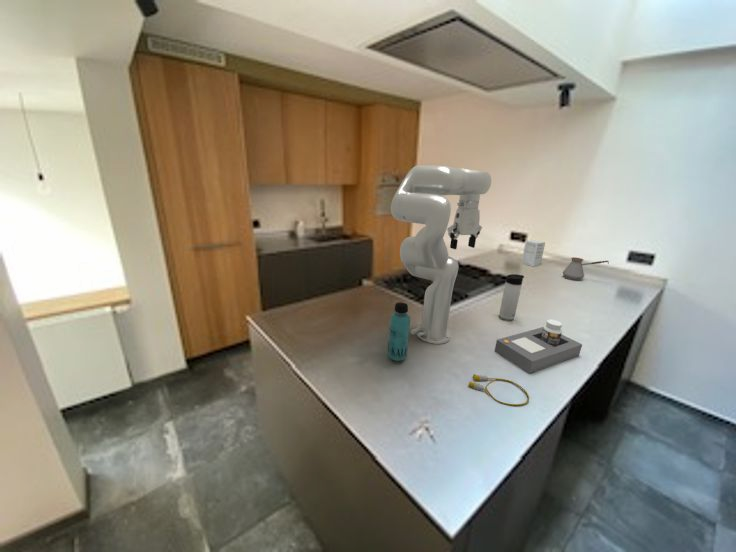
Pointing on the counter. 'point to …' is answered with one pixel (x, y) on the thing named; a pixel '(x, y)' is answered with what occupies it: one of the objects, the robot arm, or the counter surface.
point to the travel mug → (510, 297)
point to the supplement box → (533, 253)
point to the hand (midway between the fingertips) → (462, 247)
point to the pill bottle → (552, 332)
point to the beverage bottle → (399, 332)
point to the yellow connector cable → (480, 387)
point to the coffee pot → (577, 269)
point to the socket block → (536, 350)
